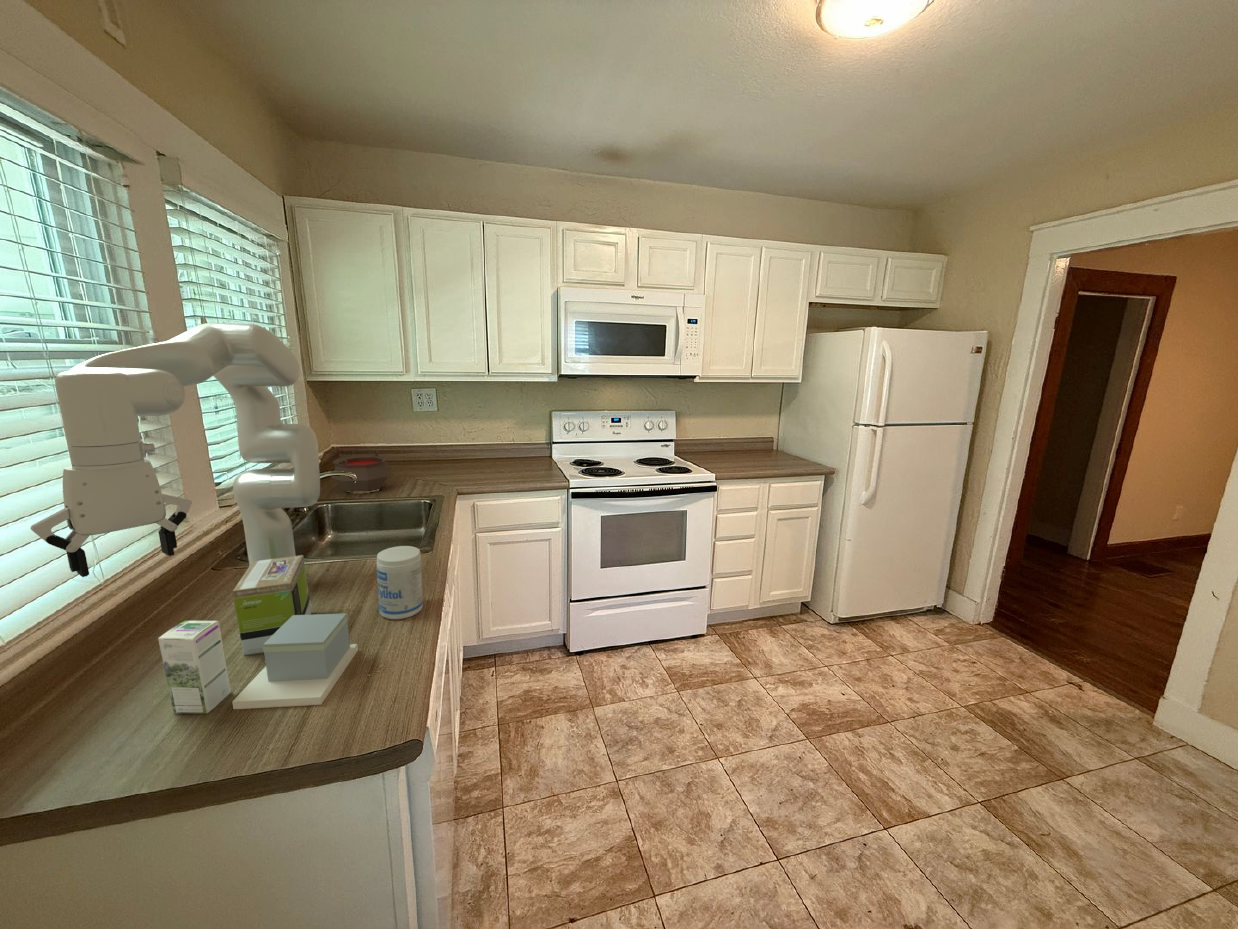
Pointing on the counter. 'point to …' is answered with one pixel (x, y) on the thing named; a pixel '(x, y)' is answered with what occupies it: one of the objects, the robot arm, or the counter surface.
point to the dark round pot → (362, 472)
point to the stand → (300, 663)
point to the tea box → (269, 599)
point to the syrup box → (195, 666)
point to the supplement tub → (399, 582)
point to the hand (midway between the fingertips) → (128, 563)
